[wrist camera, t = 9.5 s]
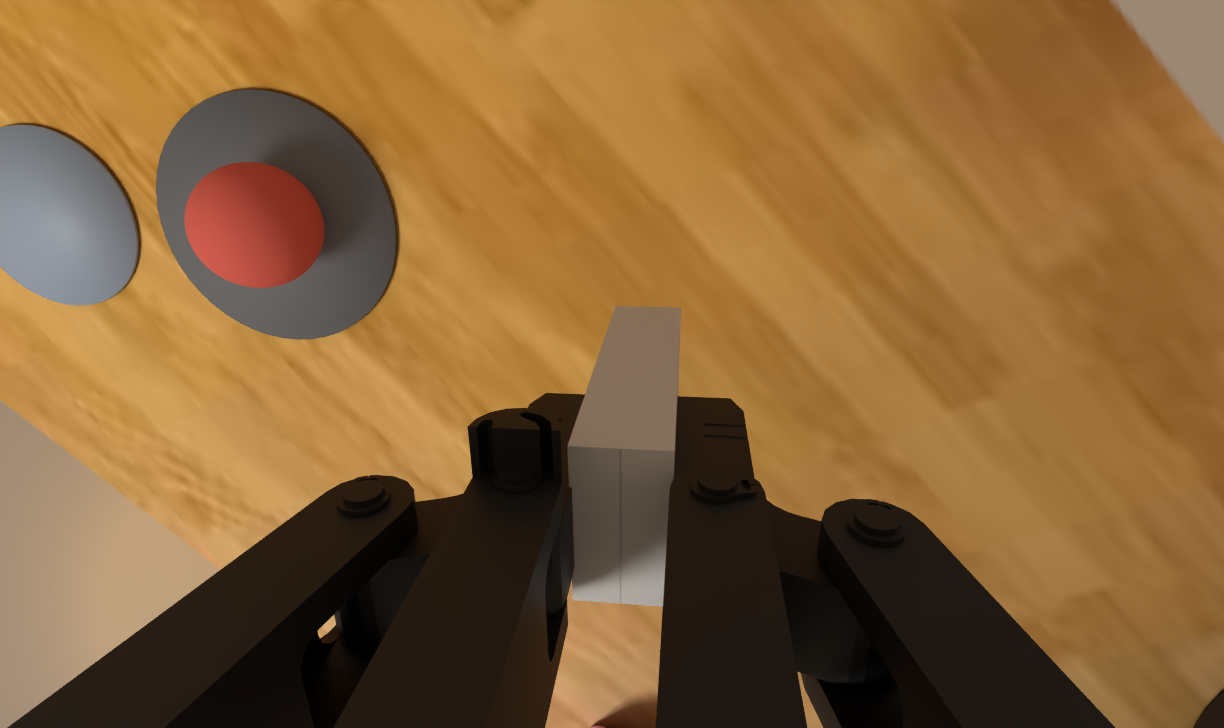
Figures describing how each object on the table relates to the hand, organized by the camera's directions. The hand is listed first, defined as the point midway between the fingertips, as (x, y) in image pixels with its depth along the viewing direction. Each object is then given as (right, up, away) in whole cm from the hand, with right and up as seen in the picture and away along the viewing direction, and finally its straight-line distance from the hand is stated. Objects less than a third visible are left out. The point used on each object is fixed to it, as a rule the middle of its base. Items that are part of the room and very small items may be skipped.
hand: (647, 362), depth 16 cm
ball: (-17, +6, +14) cm, 23 cm away
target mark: (-17, +7, +17) cm, 25 cm away
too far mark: (-29, +7, +18) cm, 35 cm away
